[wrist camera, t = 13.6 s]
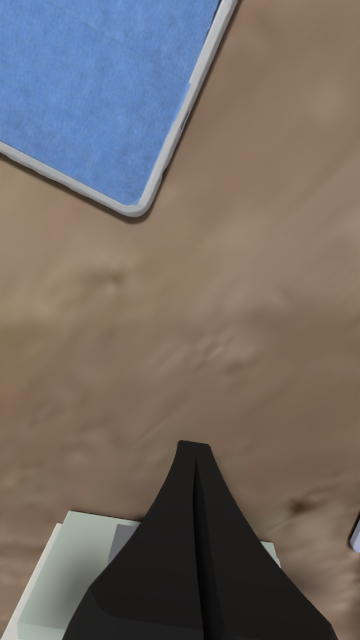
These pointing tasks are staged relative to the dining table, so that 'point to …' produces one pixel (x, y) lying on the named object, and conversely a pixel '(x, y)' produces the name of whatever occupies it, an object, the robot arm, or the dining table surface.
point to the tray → (75, 571)
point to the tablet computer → (103, 89)
